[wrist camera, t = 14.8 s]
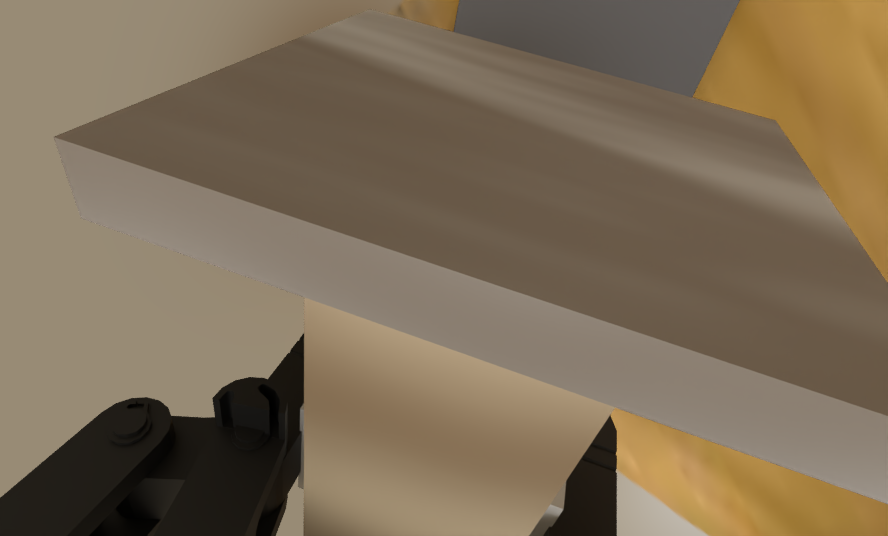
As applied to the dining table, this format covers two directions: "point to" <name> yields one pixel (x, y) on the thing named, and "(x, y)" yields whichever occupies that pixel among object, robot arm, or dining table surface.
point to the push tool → (506, 267)
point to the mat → (608, 34)
